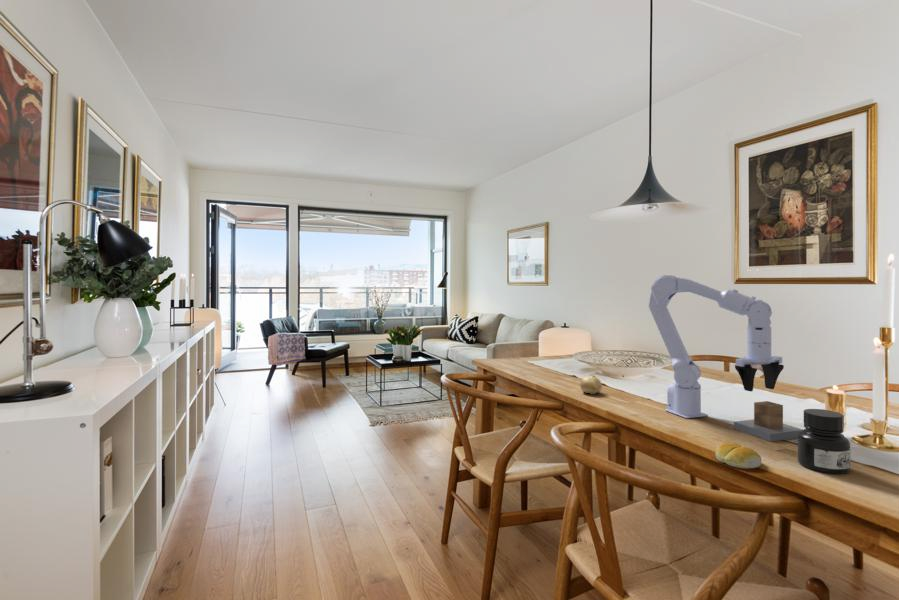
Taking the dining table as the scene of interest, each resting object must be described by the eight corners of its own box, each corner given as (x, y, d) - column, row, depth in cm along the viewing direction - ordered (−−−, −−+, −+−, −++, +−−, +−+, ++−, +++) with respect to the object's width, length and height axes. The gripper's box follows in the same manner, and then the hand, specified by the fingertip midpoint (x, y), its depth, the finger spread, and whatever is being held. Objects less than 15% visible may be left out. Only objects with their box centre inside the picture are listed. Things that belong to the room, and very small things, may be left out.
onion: (605, 395, 166) (604, 376, 166) (583, 396, 167) (583, 377, 166) (598, 390, 174) (598, 372, 174) (577, 391, 175) (577, 372, 174)
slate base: (733, 428, 126) (733, 421, 126) (765, 425, 129) (765, 418, 129) (770, 441, 115) (770, 434, 115) (804, 437, 118) (804, 429, 118)
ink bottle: (824, 477, 94) (824, 420, 94) (786, 461, 103) (786, 409, 103) (862, 472, 96) (863, 417, 96) (822, 457, 105) (822, 406, 104)
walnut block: (754, 424, 123) (754, 402, 123) (767, 422, 124) (767, 401, 124) (769, 429, 119) (769, 406, 119) (782, 427, 120) (782, 405, 120)
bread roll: (734, 453, 109) (734, 436, 109) (768, 467, 100) (768, 449, 100) (705, 456, 107) (705, 440, 107) (738, 471, 98) (738, 453, 98)
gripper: (751, 345, 124) (751, 394, 124) (792, 342, 127) (792, 390, 127) (729, 342, 130) (729, 389, 131) (769, 340, 134) (769, 385, 134)
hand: (759, 389), depth 130 cm, fingers open, 7 cm apart
